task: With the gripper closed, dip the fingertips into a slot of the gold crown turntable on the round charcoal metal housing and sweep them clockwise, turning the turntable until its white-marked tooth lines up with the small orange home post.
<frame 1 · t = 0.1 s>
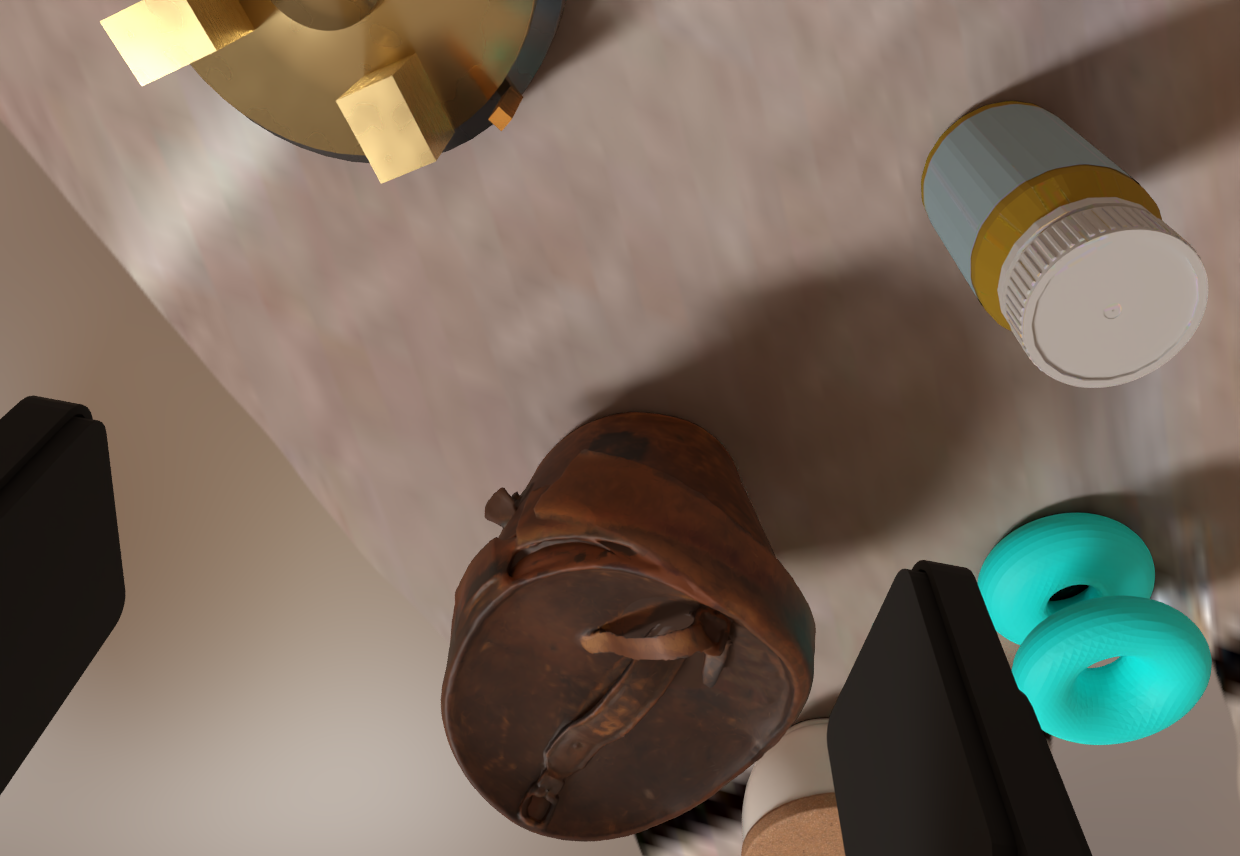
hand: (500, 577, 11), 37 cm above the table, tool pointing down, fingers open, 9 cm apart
case: (637, 493, 57), on the table
lidded bowl: (822, 748, 69), on the table
donuts: (1054, 565, 59), on the table
bottle: (991, 171, 46), on the table
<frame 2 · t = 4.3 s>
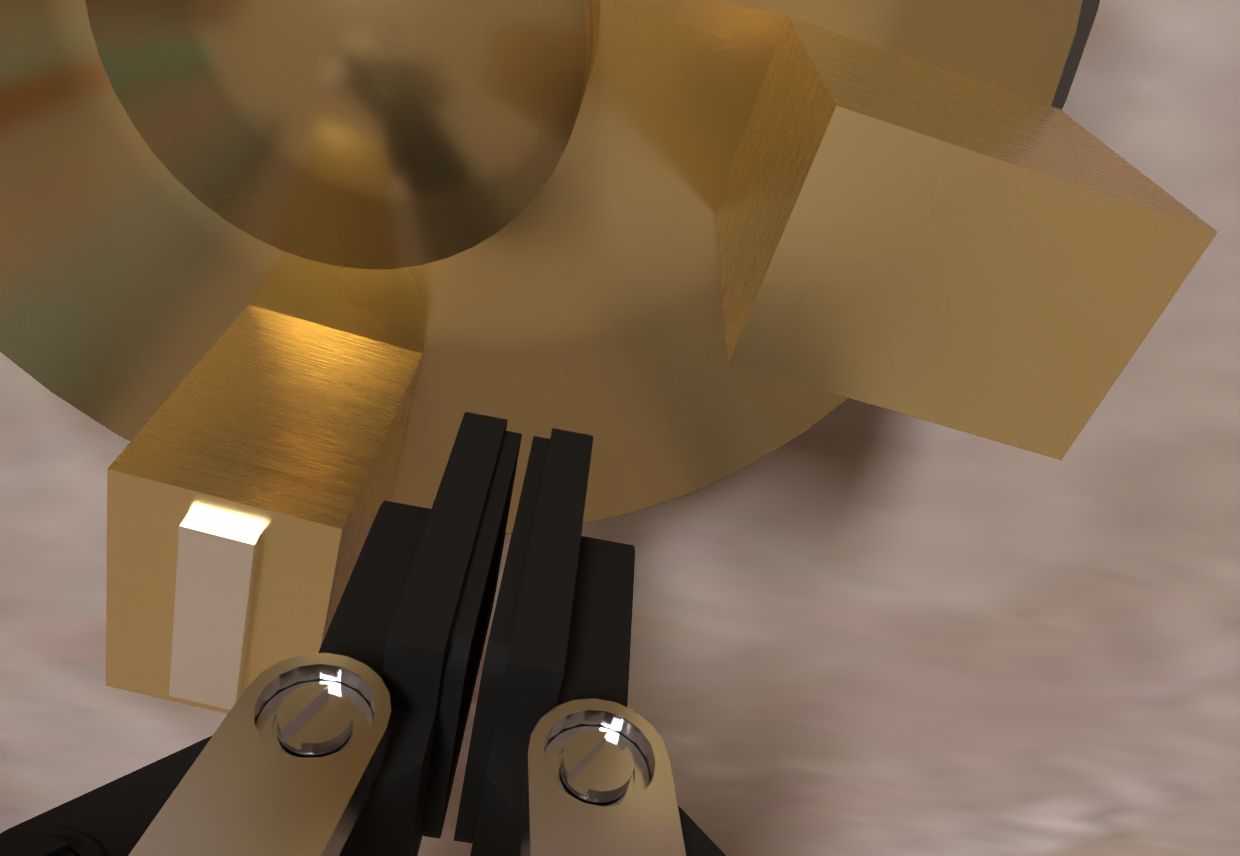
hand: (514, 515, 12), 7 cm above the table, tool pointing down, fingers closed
gold crown turntable: (359, 21, 10), point 6 cm above the table, hinge at 7.2°, touching gripper
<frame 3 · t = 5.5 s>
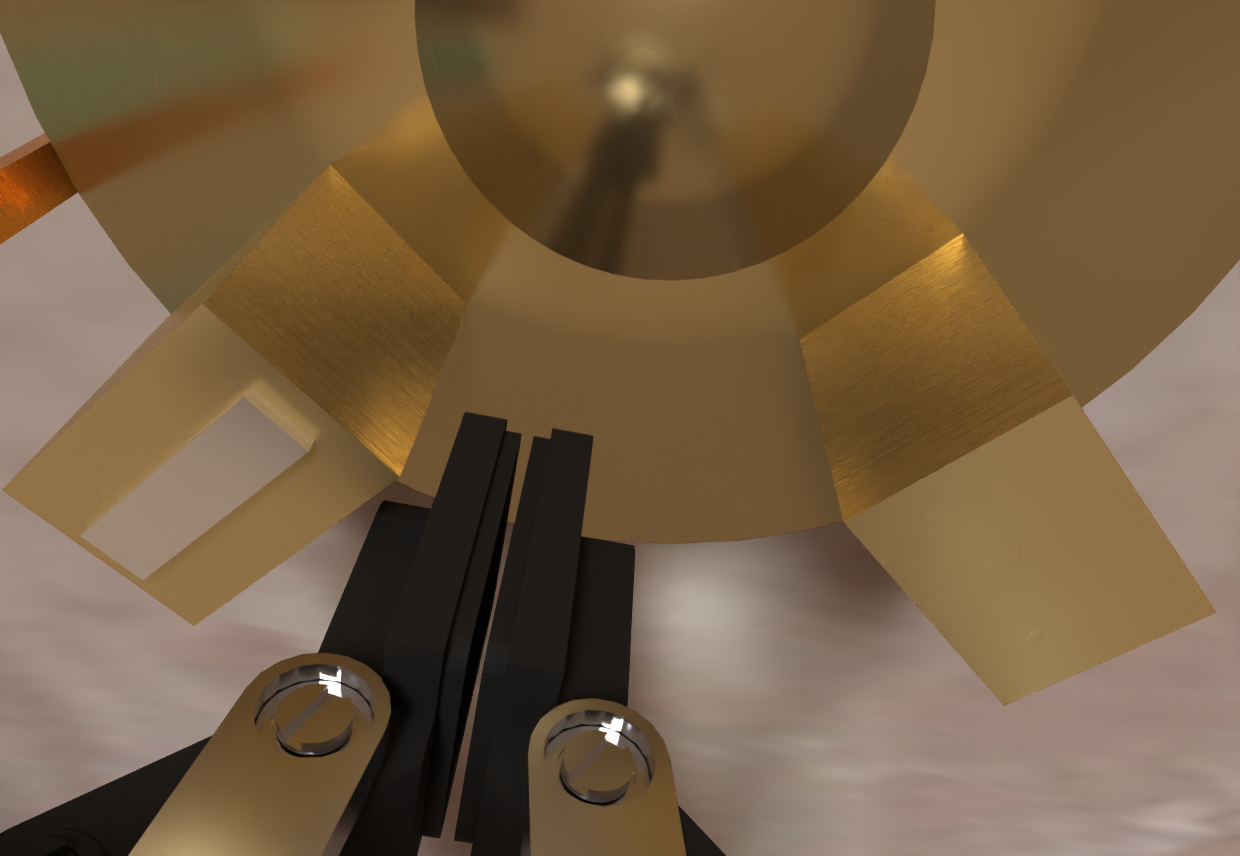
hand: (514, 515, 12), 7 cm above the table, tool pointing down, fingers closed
gold crown turntable: (671, 27, 10), point 6 cm above the table, hinge at 40.5°, touching gripper
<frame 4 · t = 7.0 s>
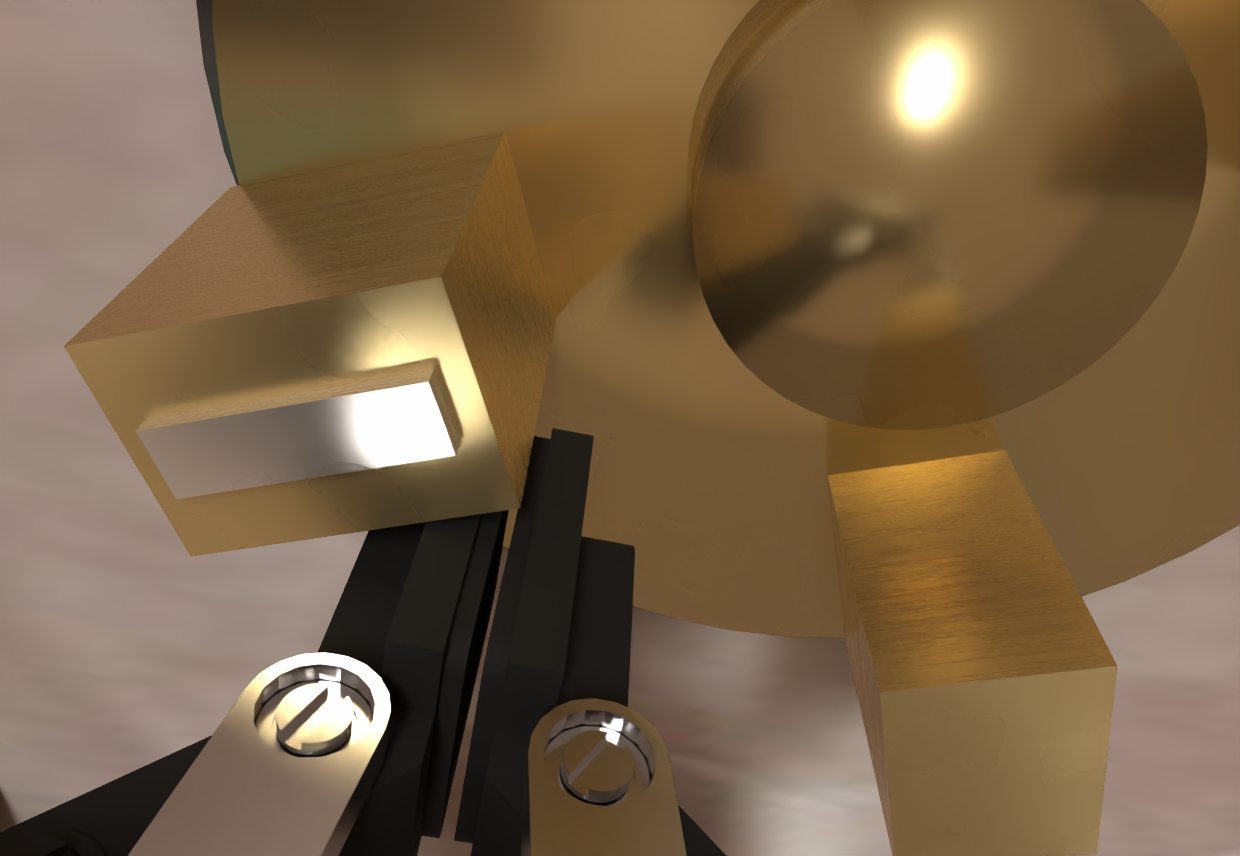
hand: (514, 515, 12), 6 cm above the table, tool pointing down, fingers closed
gold crown turntable: (923, 196, 10), point 6 cm above the table, hinge at 67.2°, touching gripper
housing: (840, 65, 15), on the table
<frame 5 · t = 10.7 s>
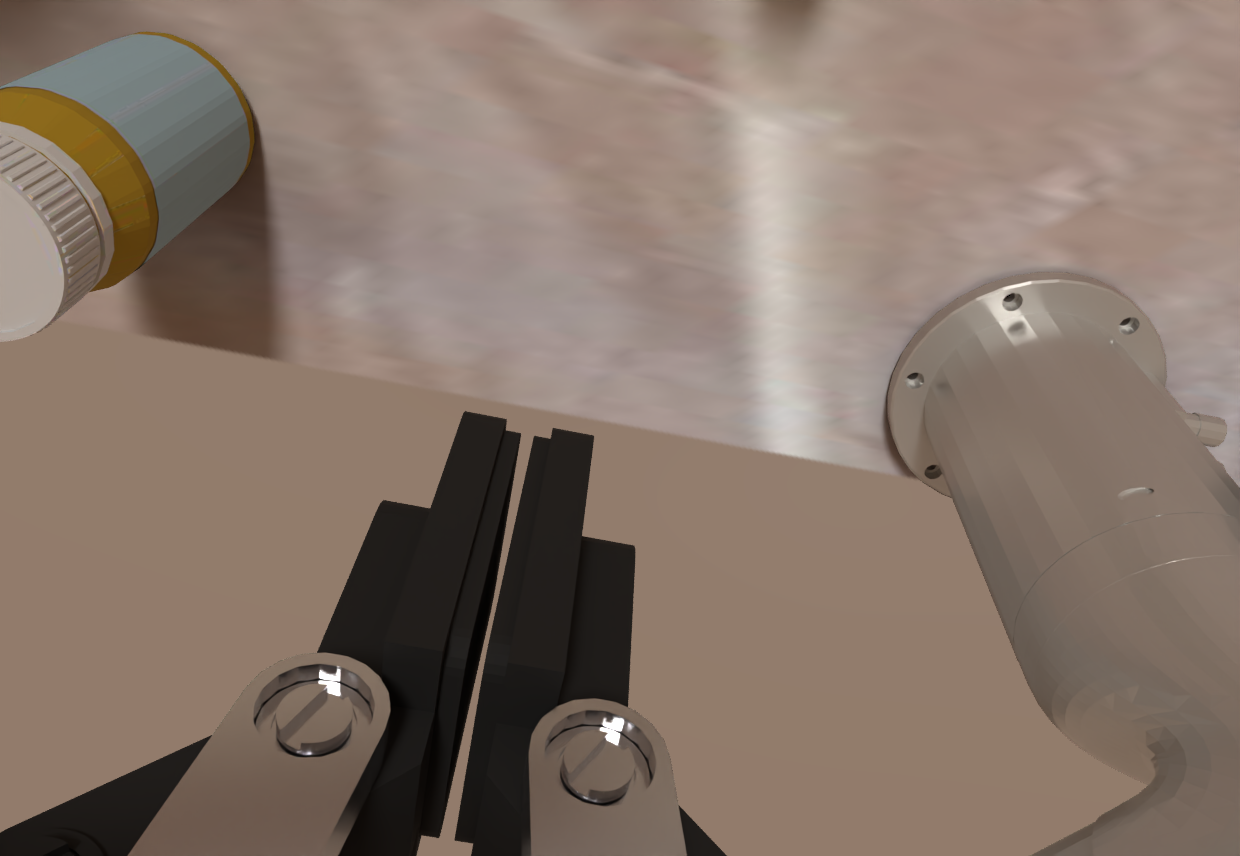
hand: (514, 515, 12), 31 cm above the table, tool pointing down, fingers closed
bottle: (180, 113, 41), on the table
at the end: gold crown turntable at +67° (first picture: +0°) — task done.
